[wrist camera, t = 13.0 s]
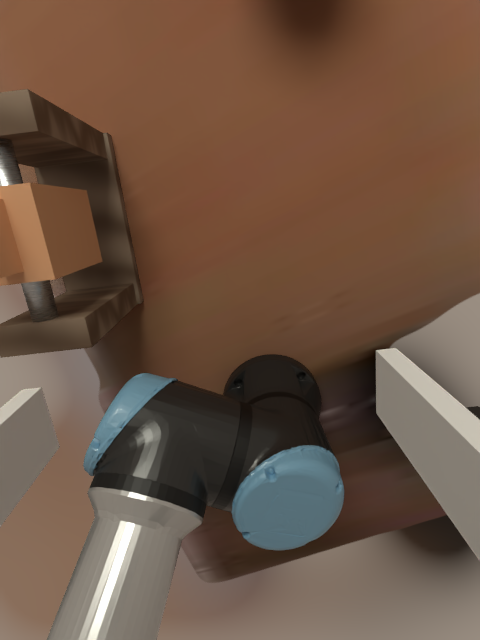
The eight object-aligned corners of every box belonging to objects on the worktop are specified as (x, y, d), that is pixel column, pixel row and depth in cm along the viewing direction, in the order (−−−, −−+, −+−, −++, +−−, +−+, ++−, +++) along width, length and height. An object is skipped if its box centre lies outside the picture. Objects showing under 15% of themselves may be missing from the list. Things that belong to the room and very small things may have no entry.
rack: (143, 301, 53) (97, 346, 35) (76, 308, 53) (-5, 358, 35) (110, 135, 46) (33, 88, 29) (34, 144, 47) (-90, 104, 29)
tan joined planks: (102, 261, 43) (-36, 313, 21) (46, 268, 43) (-148, 326, 21) (86, 190, 41) (-87, 167, 19) (27, 197, 41) (-212, 182, 19)
